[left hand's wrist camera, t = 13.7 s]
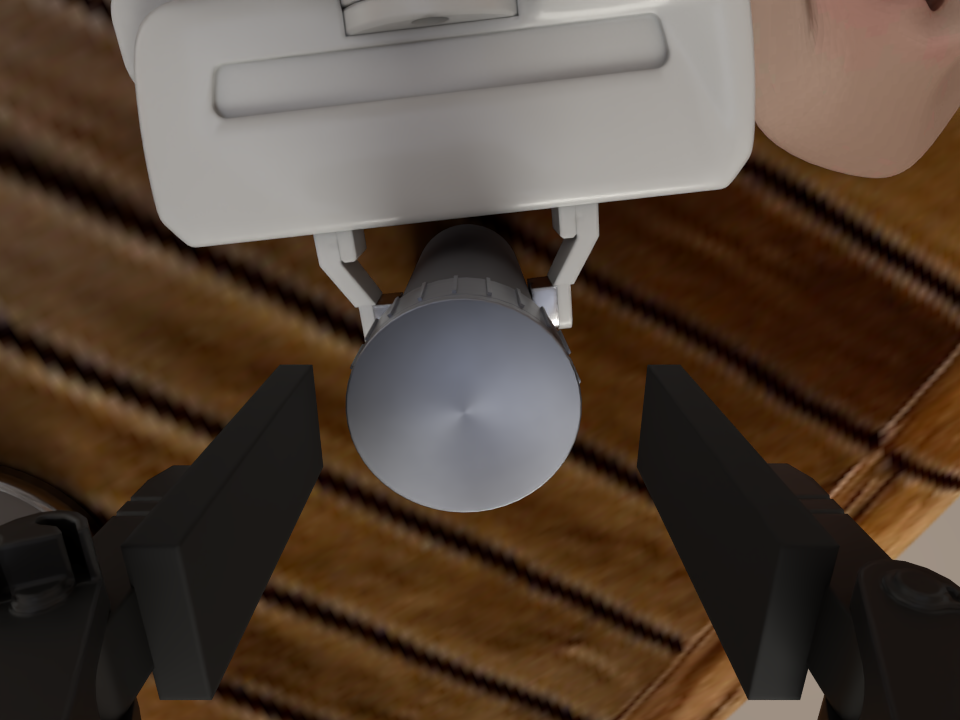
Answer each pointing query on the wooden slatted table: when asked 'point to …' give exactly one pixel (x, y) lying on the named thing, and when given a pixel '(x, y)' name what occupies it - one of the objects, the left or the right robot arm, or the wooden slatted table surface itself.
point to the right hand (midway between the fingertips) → (470, 334)
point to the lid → (463, 396)
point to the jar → (468, 258)
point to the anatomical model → (856, 79)
